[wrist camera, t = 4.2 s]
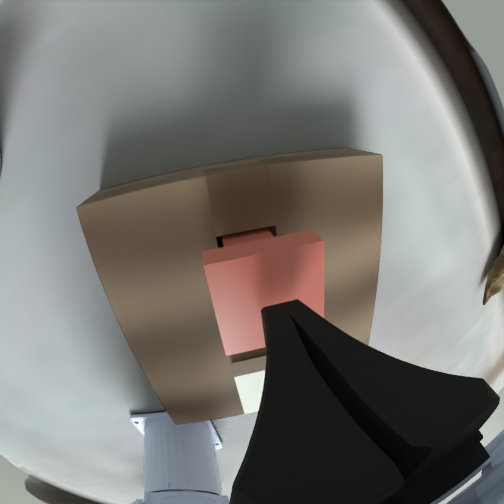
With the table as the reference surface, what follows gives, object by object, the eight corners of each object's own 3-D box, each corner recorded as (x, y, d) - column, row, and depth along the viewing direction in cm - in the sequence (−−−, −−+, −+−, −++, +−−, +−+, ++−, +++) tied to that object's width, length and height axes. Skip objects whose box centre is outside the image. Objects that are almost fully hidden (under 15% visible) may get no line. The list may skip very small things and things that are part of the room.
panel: (342, 349, 25) (361, 378, 22) (174, 389, 23) (175, 425, 19) (347, 147, 17) (382, 154, 14) (99, 190, 15) (76, 207, 12)
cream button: (284, 352, 23) (304, 398, 18) (233, 364, 22) (244, 414, 18) (280, 312, 21) (304, 359, 17) (222, 325, 21) (234, 377, 16)
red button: (288, 276, 17) (323, 331, 12) (214, 292, 16) (226, 355, 12) (281, 204, 15) (324, 240, 10) (198, 219, 14) (203, 265, 10)
